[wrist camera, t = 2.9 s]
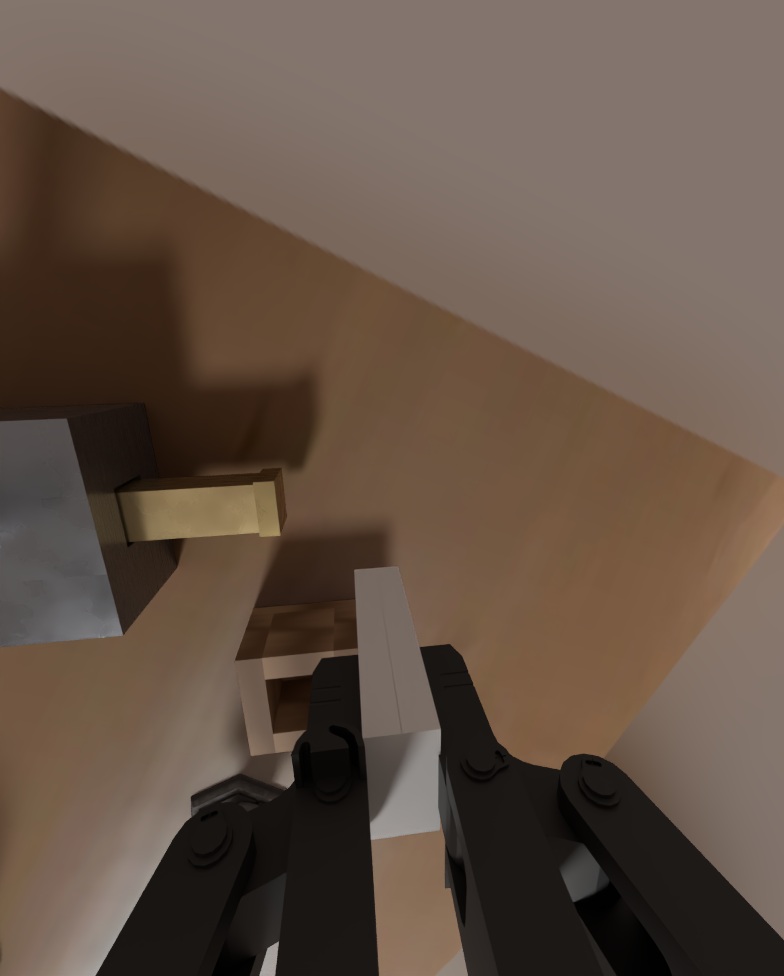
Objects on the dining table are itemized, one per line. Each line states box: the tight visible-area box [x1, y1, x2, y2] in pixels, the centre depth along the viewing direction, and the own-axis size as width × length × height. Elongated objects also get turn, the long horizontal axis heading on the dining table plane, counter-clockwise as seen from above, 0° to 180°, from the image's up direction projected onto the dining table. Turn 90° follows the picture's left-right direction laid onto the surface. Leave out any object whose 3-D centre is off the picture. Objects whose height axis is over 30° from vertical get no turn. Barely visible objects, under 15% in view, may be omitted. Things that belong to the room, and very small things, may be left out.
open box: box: [235, 599, 358, 756], centre depth 31 cm, size 8×8×6 cm
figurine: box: [191, 774, 284, 817], centre depth 31 cm, size 9×10×15 cm
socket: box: [0, 403, 177, 647], centre depth 24 cm, size 12×13×8 cm
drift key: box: [114, 468, 287, 542], centre depth 25 cm, size 3×9×3 cm, turn 92°
